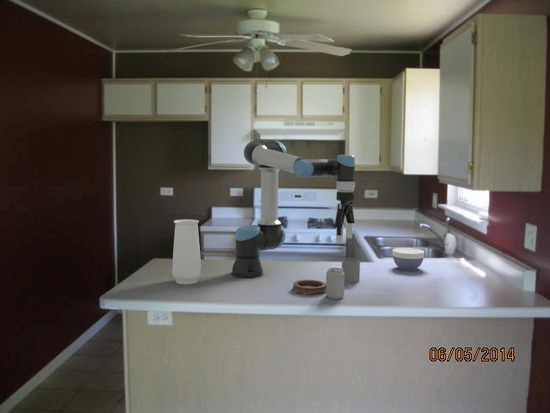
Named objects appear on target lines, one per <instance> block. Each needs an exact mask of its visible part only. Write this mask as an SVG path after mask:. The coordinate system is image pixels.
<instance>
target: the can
mask: <svg viewBox="0 0 550 413" xmlns="http://www.w3.org/2000/svg"><path fill="white" fill-rule="evenodd" d="M327 269H328V270H327V271H326V273H325V274H326V275H325V276H326V277H325V283H326V293H325V296H326V297H327V298H328V299H331V300H340V299H342V298H343V297H344V296H345V282H344V272H343V269H342V267H341V268H340V267H330V268H327Z"/></svg>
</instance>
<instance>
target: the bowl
mask: <svg viewBox="0 0 550 413" xmlns="http://www.w3.org/2000/svg"><path fill="white" fill-rule="evenodd" d="M424 258H425V250H423V249H420V248H417V247H416V248H414V247H395V248H393V249H392V259H393V262H394V264H395V265H396V266H397V267H398V269H399V270H401V271H406V272H410V271H411V272H413V271H417V269H418V268H419V267H421V265H422V263H423V261H424Z"/></svg>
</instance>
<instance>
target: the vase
mask: <svg viewBox="0 0 550 413" xmlns="http://www.w3.org/2000/svg"><path fill="white" fill-rule="evenodd" d="M173 223H174V227H175V228H174V237H173V238H174V239H173V253H172V277H174V279H175V283H176V284H178V285H193V284H194V285H195V284H196V283H198V282H199V278H200V277H201V275H202V262H201V261H202V260H201V250H200V248H201V247H200V236H199V235H200V234H199V226H198V224H199V223H200V220H197V219H190V218H187V219H186V218H185V219H175V220H173Z"/></svg>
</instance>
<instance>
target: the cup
mask: <svg viewBox="0 0 550 413" xmlns="http://www.w3.org/2000/svg"><path fill="white" fill-rule="evenodd" d="M341 269H343V272H344V283H347V284H358V283H360V277H361V276H360V275H361V274H360V273H361V272H360V270H361V259H360V258H356V257H344V258H341Z"/></svg>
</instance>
